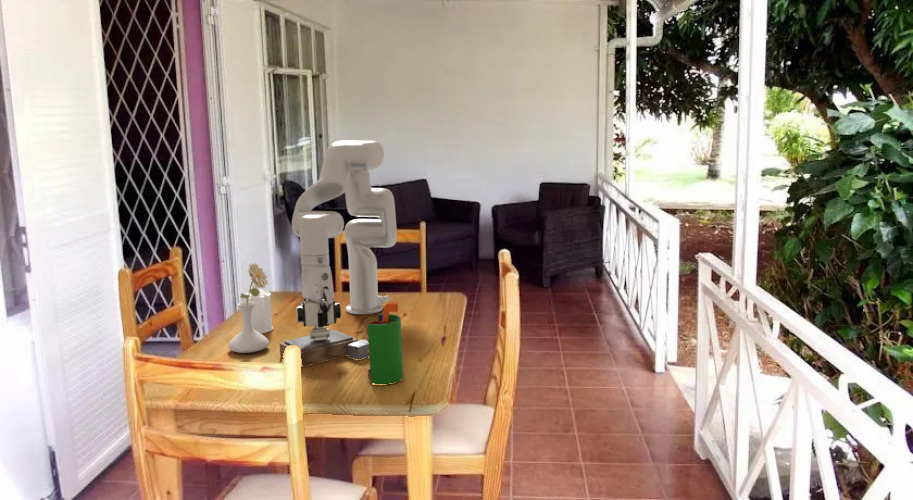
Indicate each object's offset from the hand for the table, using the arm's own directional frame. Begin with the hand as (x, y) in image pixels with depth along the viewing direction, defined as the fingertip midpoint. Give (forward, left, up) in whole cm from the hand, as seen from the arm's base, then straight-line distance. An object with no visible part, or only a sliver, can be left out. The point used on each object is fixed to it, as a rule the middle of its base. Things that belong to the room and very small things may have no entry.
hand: (318, 323), depth 204 cm
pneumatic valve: (0, +1, -5) cm, 5 cm away
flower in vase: (+12, -18, -9) cm, 24 cm away
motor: (-3, +28, -9) cm, 29 cm away
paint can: (+2, -34, -9) cm, 36 cm away
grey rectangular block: (-8, +9, -9) cm, 15 cm away
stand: (0, 0, -9) cm, 9 cm away
